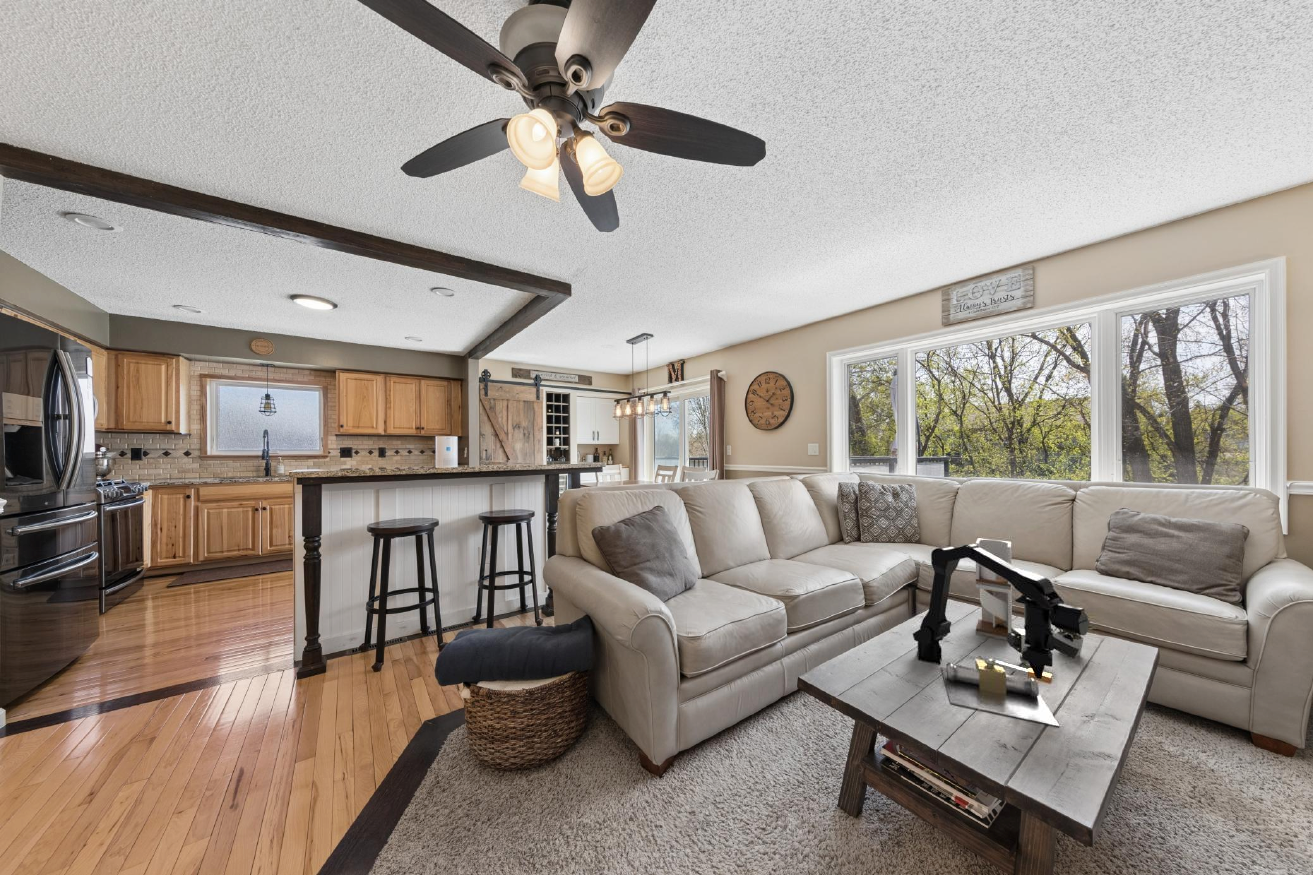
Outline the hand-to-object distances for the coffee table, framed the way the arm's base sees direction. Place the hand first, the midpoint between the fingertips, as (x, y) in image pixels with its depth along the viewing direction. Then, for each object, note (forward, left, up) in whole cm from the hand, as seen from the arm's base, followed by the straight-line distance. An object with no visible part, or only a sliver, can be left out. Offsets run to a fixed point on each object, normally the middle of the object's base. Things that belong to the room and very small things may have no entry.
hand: (1038, 678), depth 126 cm
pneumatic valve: (+5, +29, -8) cm, 31 cm away
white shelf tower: (0, +54, -8) cm, 55 cm away
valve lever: (-4, +4, -1) cm, 6 cm away
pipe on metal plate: (-10, +2, -8) cm, 13 cm away
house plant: (+21, +44, -8) cm, 50 cm away
